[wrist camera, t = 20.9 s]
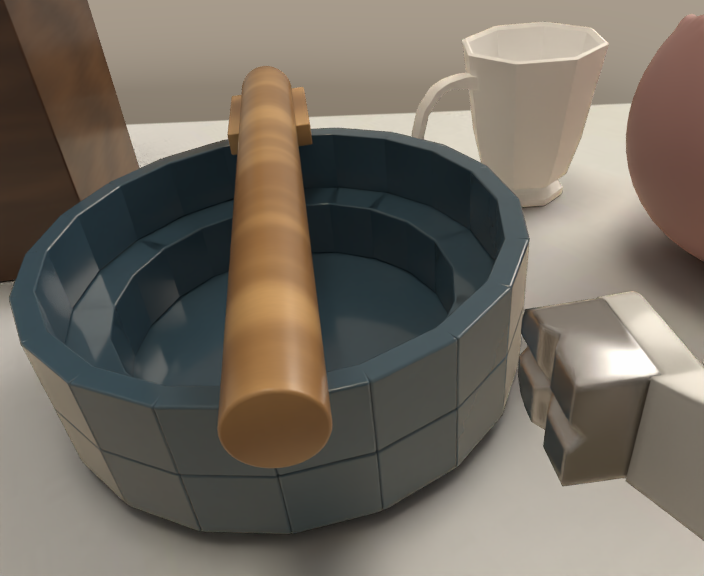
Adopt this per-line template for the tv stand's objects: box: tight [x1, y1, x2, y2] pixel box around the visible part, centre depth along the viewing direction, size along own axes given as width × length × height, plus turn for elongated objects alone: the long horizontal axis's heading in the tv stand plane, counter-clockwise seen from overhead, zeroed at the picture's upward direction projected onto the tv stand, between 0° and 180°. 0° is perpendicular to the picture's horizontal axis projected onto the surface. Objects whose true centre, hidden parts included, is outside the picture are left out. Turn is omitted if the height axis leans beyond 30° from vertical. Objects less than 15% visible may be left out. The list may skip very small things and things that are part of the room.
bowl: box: [9, 128, 530, 534], centre depth 25 cm, size 18×18×6 cm
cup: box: [412, 22, 609, 207], centre depth 33 cm, size 7×10×8 cm
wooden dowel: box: [217, 66, 332, 468], centre depth 22 cm, size 22×4×2 cm, turn 7°
